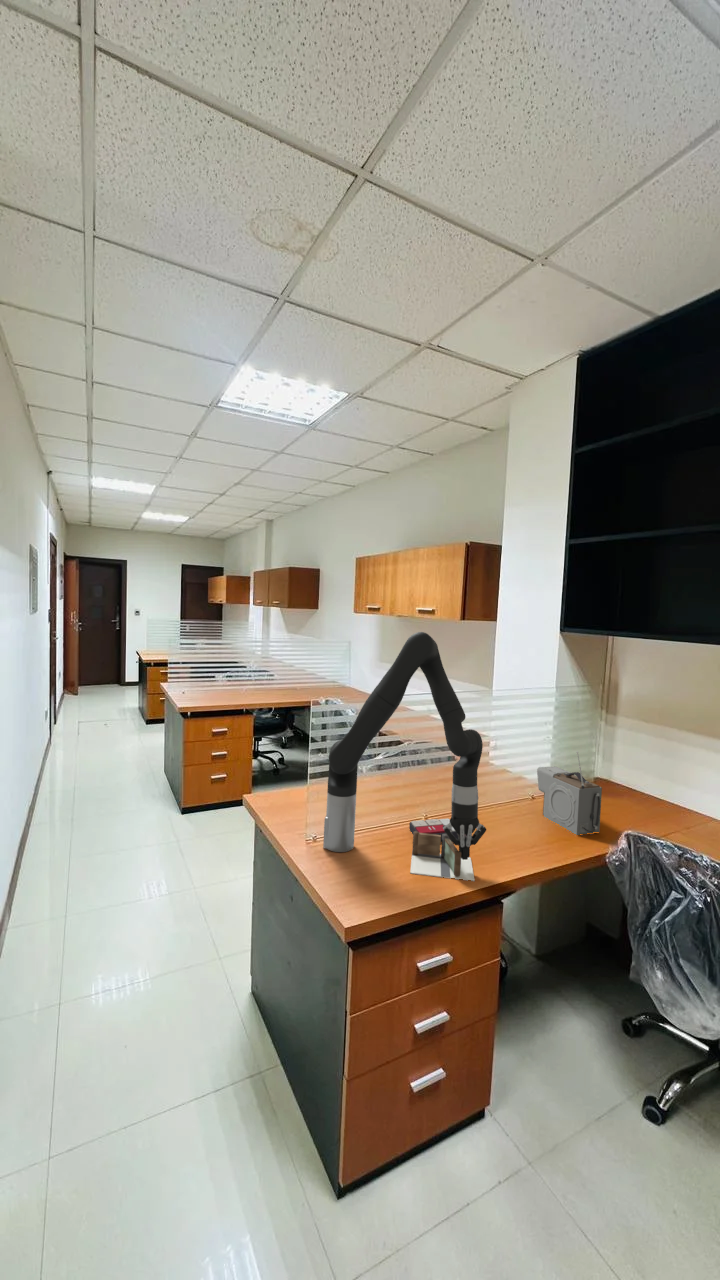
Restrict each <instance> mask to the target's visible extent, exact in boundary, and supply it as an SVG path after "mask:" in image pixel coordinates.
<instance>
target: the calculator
mask: <svg viewBox="0 0 720 1280" xmlns="http://www.w3.org/2000/svg"><path fill="white" fill-rule="evenodd" d="M450 819H451V818H439V819H438V818H434V819H433V818H431V819H425V820H424V819H420V820H411V821H410V822H409V826H408V827H409V829H410V830H409V831H410V832H412V833H411V834H412V835H413V832H414V831H417V832H419V833H426V834H436V835H441V842H440V843H442V834H446V832H445V831H444V829H443V826H444V825H447V824H449V823H450ZM451 833H452V834H453V835H454V837H455V838H456V839H458V835H457V832H456V831H455V830H454V828H453V827H452V832H451ZM449 839H450V838H449ZM450 840H451V839H450ZM451 841H452V840H451ZM452 843H453V841H452Z"/></svg>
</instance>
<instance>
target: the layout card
mask: <svg viewBox="0 0 720 1280" xmlns="http://www.w3.org/2000/svg"><path fill="white" fill-rule="evenodd" d="M410 859H411V861H410V872H409V873H410V874H412V875H420V876H426V877H427V876H428V877H436V878H437V877H438V878H443V877H444V879H451V878H455V879H454V880H459V879H463V880H462V881H468V880H471V881H470V882H476V881H475V875H474V869H473V863H472V858H471V857H470V856H469V858H468V859H467V860H462V858H461V870H460V876H455V875H454V873H453V871H452V869H451V868H450V866H449V865H448V863H447V862H446V860H445V859H443V858H441V853H440V856H435V855H426V854H418V855H413V854H412V853H411V858H410Z"/></svg>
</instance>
